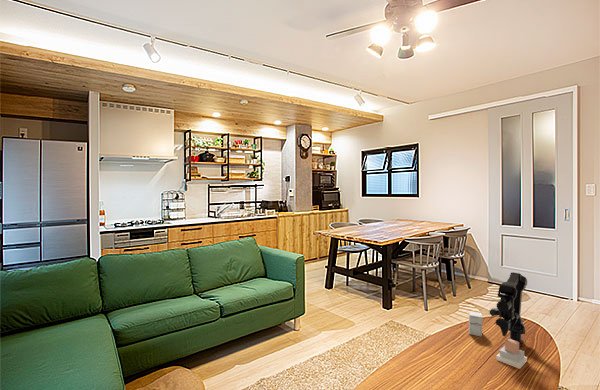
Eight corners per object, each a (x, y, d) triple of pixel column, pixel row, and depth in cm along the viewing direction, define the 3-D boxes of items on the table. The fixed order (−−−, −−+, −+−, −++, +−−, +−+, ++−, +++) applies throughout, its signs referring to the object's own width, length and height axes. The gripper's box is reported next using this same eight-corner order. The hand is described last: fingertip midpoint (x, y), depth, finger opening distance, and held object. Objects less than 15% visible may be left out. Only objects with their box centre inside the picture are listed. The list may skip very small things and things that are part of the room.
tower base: (503, 354, 180) (503, 348, 180) (526, 362, 171) (526, 357, 171) (496, 360, 173) (496, 355, 173) (519, 370, 164) (520, 364, 164)
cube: (508, 346, 175) (509, 338, 175) (518, 351, 171) (519, 342, 171) (504, 349, 173) (505, 340, 172) (514, 354, 168) (515, 345, 168)
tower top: (505, 350, 178) (505, 344, 178) (524, 356, 171) (524, 351, 171) (499, 355, 173) (499, 350, 173) (518, 362, 166) (518, 357, 166)
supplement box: (468, 334, 202) (469, 315, 201) (468, 329, 208) (469, 310, 208) (482, 337, 198) (482, 317, 198) (481, 332, 205) (481, 312, 204)
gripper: (497, 298, 190) (497, 323, 191) (485, 306, 178) (485, 333, 179) (519, 303, 181) (518, 330, 182) (508, 313, 169) (507, 341, 170)
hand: (507, 333), depth 178 cm, fingers open, 9 cm apart
